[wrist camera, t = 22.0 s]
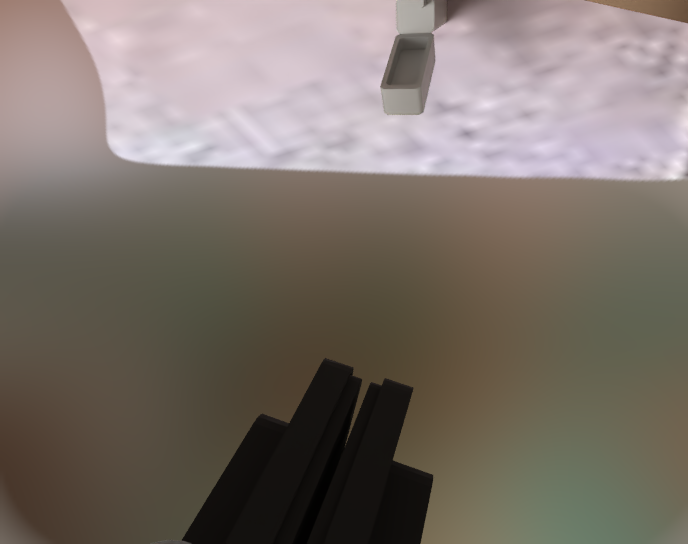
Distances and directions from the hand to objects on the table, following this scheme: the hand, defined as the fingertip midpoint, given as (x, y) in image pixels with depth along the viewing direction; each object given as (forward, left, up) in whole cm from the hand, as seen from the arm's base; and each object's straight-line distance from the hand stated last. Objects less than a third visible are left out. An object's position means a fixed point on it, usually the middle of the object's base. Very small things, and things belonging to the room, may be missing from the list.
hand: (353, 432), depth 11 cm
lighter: (-4, +5, -25) cm, 26 cm away
